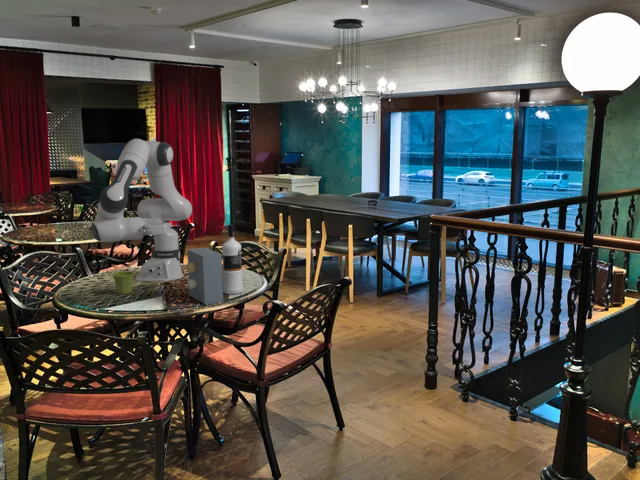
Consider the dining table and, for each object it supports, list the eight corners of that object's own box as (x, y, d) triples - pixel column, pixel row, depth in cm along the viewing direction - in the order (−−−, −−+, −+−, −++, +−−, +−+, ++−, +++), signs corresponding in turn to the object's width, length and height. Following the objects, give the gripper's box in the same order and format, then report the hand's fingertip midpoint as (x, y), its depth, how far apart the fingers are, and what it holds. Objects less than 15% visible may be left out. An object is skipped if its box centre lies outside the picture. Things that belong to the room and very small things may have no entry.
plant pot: (115, 296, 251) (113, 276, 249) (111, 291, 259) (110, 272, 258) (137, 293, 255) (136, 274, 254) (133, 289, 263) (132, 270, 262)
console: (204, 304, 237) (202, 256, 234) (189, 295, 252) (187, 249, 249) (223, 301, 241) (221, 254, 238) (206, 292, 256) (205, 247, 253)
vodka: (231, 289, 262) (228, 222, 257) (248, 291, 258) (246, 224, 253) (218, 293, 254) (215, 225, 249) (235, 296, 250) (233, 226, 245)
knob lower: (191, 290, 240) (190, 280, 240) (187, 288, 244) (187, 278, 243) (221, 285, 248) (221, 276, 247) (218, 283, 251) (217, 274, 250)
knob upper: (190, 273, 239) (190, 263, 239) (187, 271, 243) (186, 262, 242) (221, 269, 246) (220, 260, 246) (217, 267, 250) (217, 258, 249)
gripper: (143, 224, 222) (178, 220, 229) (129, 217, 239) (162, 213, 246) (144, 240, 223) (179, 236, 231) (130, 232, 240) (163, 228, 248)
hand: (170, 224), depth 239 cm, fingers closed
